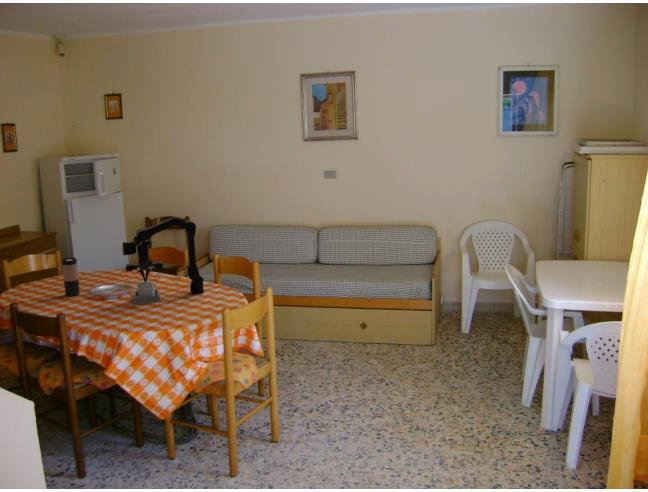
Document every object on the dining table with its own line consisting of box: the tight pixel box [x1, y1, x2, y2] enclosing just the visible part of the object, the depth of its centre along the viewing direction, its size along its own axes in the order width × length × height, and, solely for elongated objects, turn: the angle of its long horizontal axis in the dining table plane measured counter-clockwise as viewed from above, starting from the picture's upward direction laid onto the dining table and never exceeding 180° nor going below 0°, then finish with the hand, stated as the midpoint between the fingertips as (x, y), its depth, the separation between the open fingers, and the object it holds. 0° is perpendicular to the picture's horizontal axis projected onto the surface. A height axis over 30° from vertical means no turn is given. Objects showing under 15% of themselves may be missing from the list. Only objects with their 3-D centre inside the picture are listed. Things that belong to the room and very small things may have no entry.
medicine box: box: [136, 280, 155, 297], centre depth 352 cm, size 8×4×9 cm, turn 86°
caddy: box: [132, 288, 162, 305], centre depth 353 cm, size 14×16×3 cm
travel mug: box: [61, 257, 81, 298], centre depth 361 cm, size 8×8×20 cm
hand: (145, 281), depth 351 cm, fingers closed
